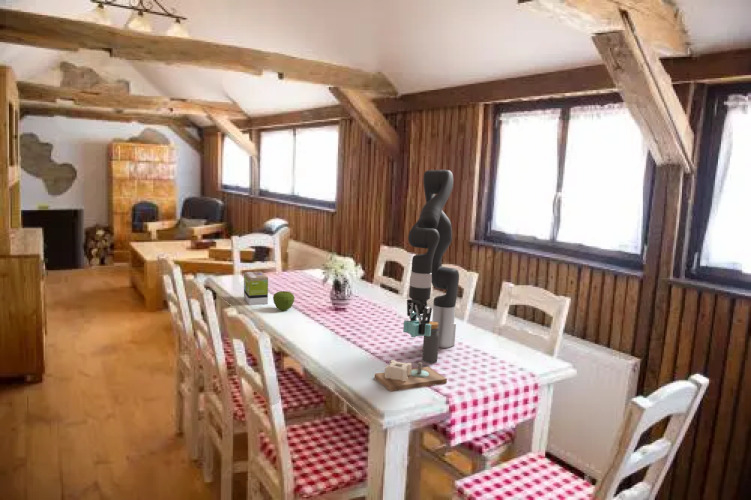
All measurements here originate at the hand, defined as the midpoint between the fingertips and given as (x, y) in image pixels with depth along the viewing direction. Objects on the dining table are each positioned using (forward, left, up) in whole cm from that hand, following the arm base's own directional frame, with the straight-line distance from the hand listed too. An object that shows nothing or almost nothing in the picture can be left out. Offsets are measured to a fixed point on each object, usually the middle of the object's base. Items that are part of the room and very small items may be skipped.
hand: (417, 331), depth 185 cm
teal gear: (0, 0, -1) cm, 1 cm away
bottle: (-13, -11, -16) cm, 24 cm away
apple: (+21, -96, -16) cm, 100 cm away
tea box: (+30, -117, -16) cm, 122 cm away
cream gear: (+8, +3, -14) cm, 17 cm away
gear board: (+4, +4, -16) cm, 17 cm away
